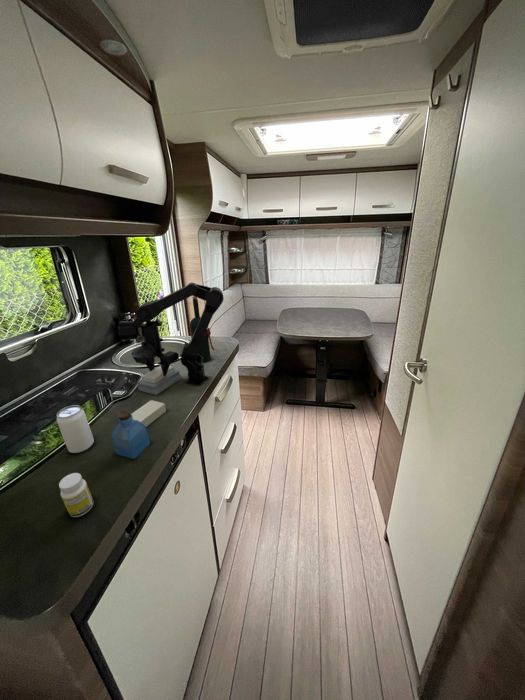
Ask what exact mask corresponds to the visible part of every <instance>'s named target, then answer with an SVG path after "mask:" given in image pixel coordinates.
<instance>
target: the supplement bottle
mask: <svg viewBox="0 0 525 700" xmlns="http://www.w3.org/2000/svg"><path fill="white" fill-rule="evenodd" d="M58 487H59V490H60V494H59V495H60V497H61V499H62V501H63V504H64V506H65V508H66V511H67V512H68V515H69V516H70V517H73V518H79V517H82V516H84V515H85V514H87V513H88V512H90V510H91V509H92V508H93V506H94V499H93V496H92V493H91V491H90V488H89V485H88V483H87V481H86V480H85V479H83V477H82V475H81V473H79V472H73V473H69V474H67V475H66V476H64V477H63V478H61V480H60V481H59V483H58Z"/></svg>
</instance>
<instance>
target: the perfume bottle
mask: <svg viewBox="0 0 525 700" xmlns="http://www.w3.org/2000/svg"><path fill="white" fill-rule="evenodd" d="M117 421H118V424H116V426H114V428H113V430H112V433H111V435H110V439H111V442H112V445H113V449H114V451H115V455H118V456H121V457H125V458H129V459H133V460H135V459H136V458H138V457H139V455H140V454H141V453H142V452H143V451H144V450H145V449H146V448H147V447H148V446H149V445H151V442H150V439H149V433H148V430H147V427H146V426H145V425H144V424H142V423H141V422H139V421H138V420H133V417H132V413H131V410H130V409H124V410H121V411H119V412H118V413H117Z"/></svg>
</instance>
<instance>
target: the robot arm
mask: <svg viewBox="0 0 525 700" xmlns="http://www.w3.org/2000/svg"><path fill="white" fill-rule="evenodd" d="M193 296H195V297H197V299H199V300H202V301H204V302H205V303H204V309H203V310H202V313H201V316H200V317H201V318H200V320H199V323H198V325H197V327H196V330H195V332H194V334H193V337H192V339H190V340H189V342H188V343H187V341H185V342H184V344H183V347H182V349H181V350H180V355H179V353H178V352H177V351H171V350H168V351H167V352H165V348H164V347H163V346H162V342H163V341H164V340H163V338H162V337H161V335H160V331H159V327H162V326H163V324H164V322H163V321H162V320H160V319H159V318H156V317H158V316H159V315H160V314H161V313H162V312H164V311H165V310H167V309H169V308H170V307H172V306H173V307H174V306H175V305H177V304H179V303H180V302H183V301H185V300H186V299H189V298H190V297H193ZM223 302H224V292H223V290H222V289H221V288H220V287H217V286H213V287H211V286H206V285H202V284H198V283H195V282H189V283H188V284H187V285H185V286H183V287H180V288H179V289H177V290H175V291H173V292H171V293H169V294H167V295H165V296H163V297H161V298H159V299H154V300H150V301H148V302H144V303H142V304H141V305H140V306H139V307H138V308H137V310H136V312H135V313H136V317H135V319H134V320H130V321H125V320H120V321H119V322H118V332H117V334H118V338H119V340H120V341H129V340H138V339H139V338H140V337H142V338H143V341H141V342H140V345H141V346H139V347H135V348H134V349H132V350H131V357H132V358H133V360H134V361H135V363H137V364H141V365H145V366H146V367H147V369H148V370H149V372H150V371H152V370H153V369H155V368H156V367H155V358H157V359H159V362H157V365H158V366H160V365H161V369H162V373H163V375H164V376H166V375H167V372H168V369H169V366H171V364H173V363H175V362H177V361H178V360H180V363H181V365H182V366H183V367H185V368H186V370H187V378H188V379H187V380H186V383H187V384H192V385H197V386H201V385H202V384H203V383H204V382H205V381H207V380H208V379H209V376H207V375H206V374H205V366H204V363H202V361H203V357H202V356H200V355H199V354H198V350H199V346H200V344H201V341H202V339H203V337H204V335H205V332H206V330H208V328H209V325H210V323H211V321H212V319H213V316H214V315H215V313H216V312H217V311H218V310H219V308H220V307H221V305H222V304H223ZM154 319H155V320H154ZM163 352H165V353H163Z"/></svg>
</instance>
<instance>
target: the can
mask: <svg viewBox="0 0 525 700" xmlns="http://www.w3.org/2000/svg"><path fill="white" fill-rule="evenodd" d="M56 424H57V426H58V429H59V431H60V434H61V436H62V439H63V441H64V445H65V446H66V449H67V451H68V452H69V453H72V454H79V453H82V452H86V451H87V450H88V449H90V448H91V447H92V445H93V444H94V442H95V439H94V436H93V432H92V430H91V427H90V424H89V421H88V418H87V415H86V412H85V410H84V409H83V408H82V407H81V405H78V404H74V405H69V406H68V405H67V406H65V407H63V408H61V409H60V410H59V411H57V413H56Z"/></svg>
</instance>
